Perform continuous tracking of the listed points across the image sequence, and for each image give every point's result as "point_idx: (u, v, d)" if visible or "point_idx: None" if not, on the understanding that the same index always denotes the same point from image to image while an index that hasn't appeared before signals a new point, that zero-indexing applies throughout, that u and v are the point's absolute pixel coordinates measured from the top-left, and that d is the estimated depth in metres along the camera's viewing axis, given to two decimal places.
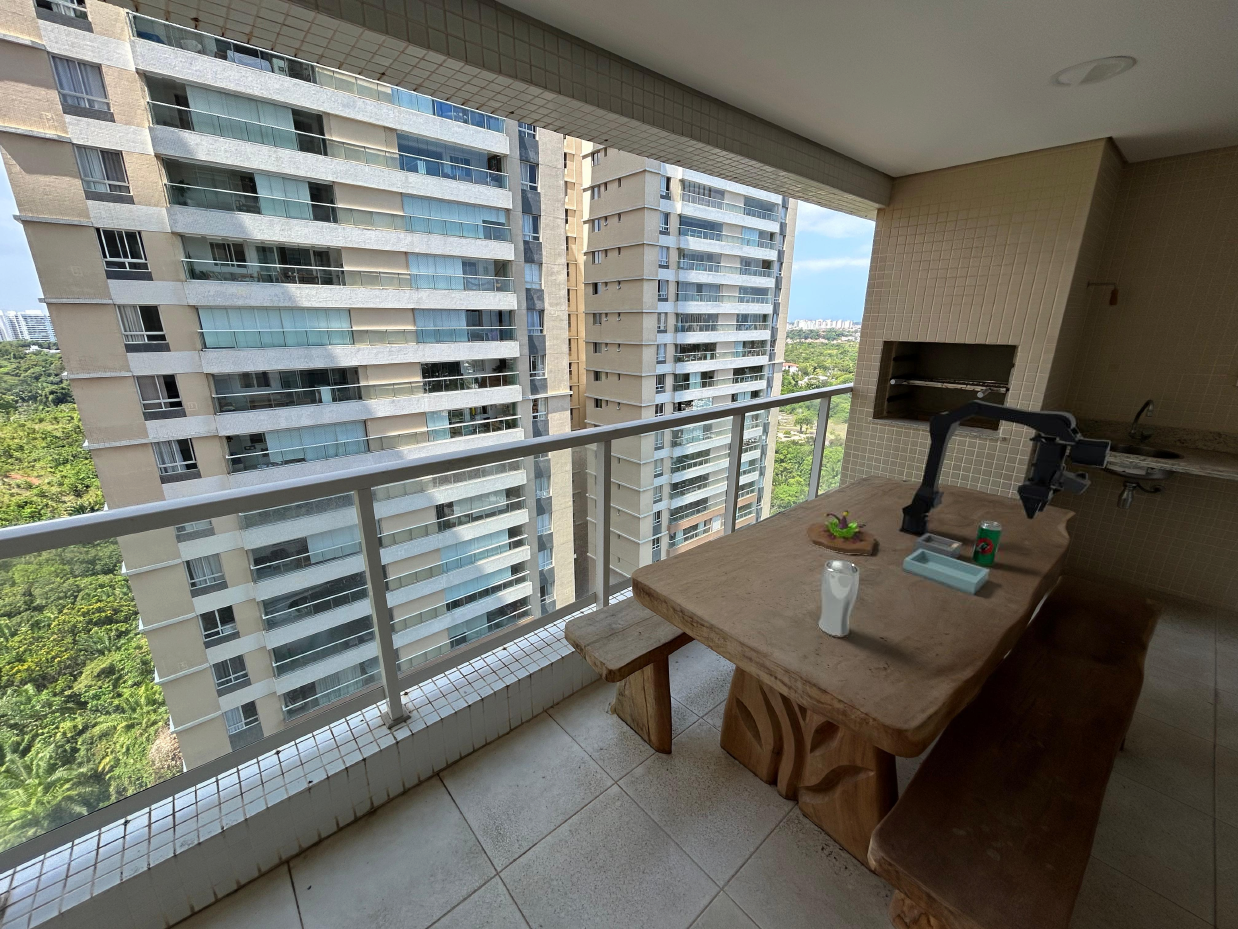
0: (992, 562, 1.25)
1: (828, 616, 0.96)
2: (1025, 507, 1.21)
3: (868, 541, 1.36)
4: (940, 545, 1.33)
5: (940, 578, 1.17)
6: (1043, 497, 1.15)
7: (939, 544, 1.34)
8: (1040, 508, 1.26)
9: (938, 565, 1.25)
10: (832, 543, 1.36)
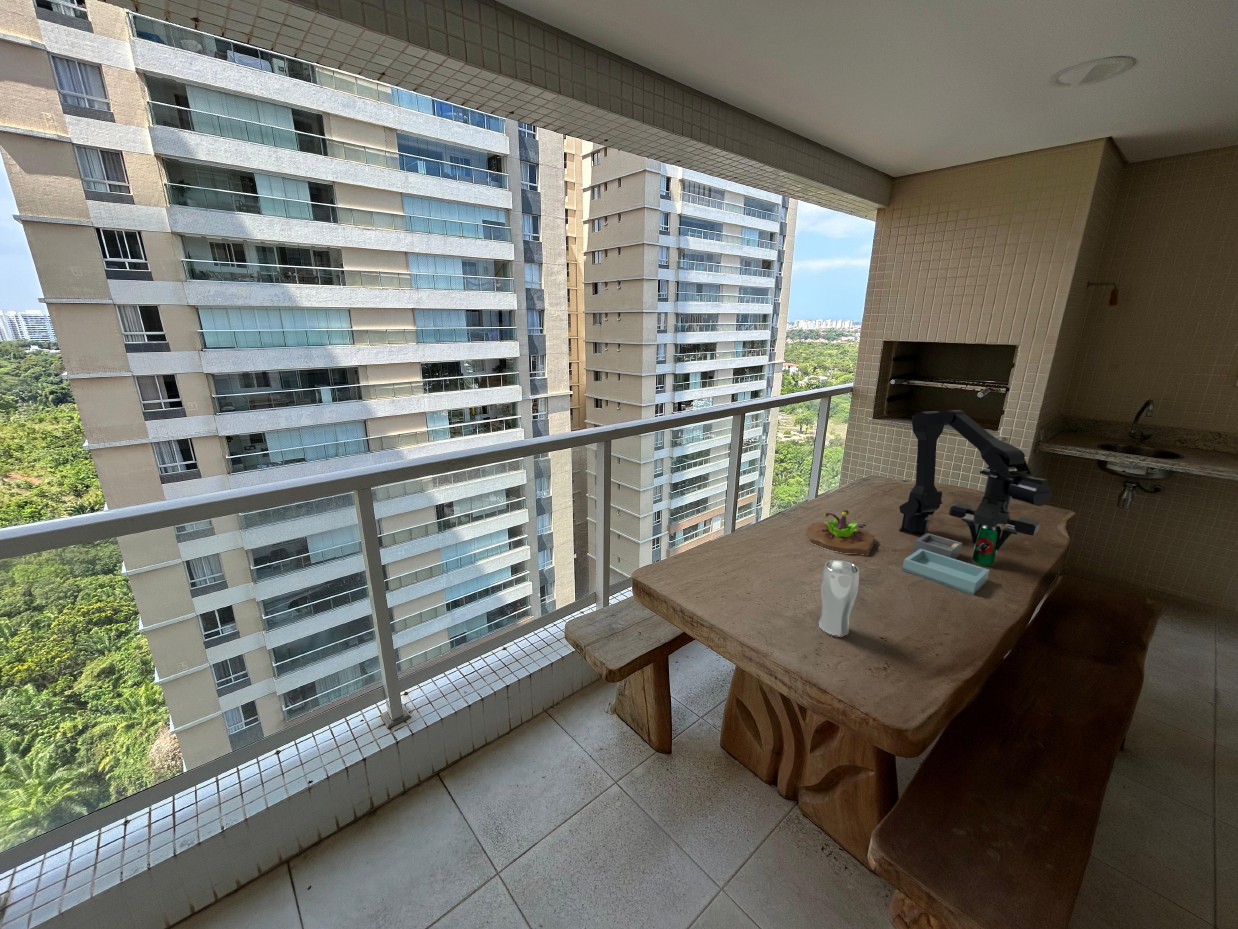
0: (992, 562, 1.25)
1: (828, 616, 0.96)
2: None
3: (866, 541, 1.36)
4: (940, 545, 1.33)
5: (940, 578, 1.17)
6: None
7: (939, 544, 1.34)
8: None
9: (938, 565, 1.25)
10: (829, 542, 1.36)
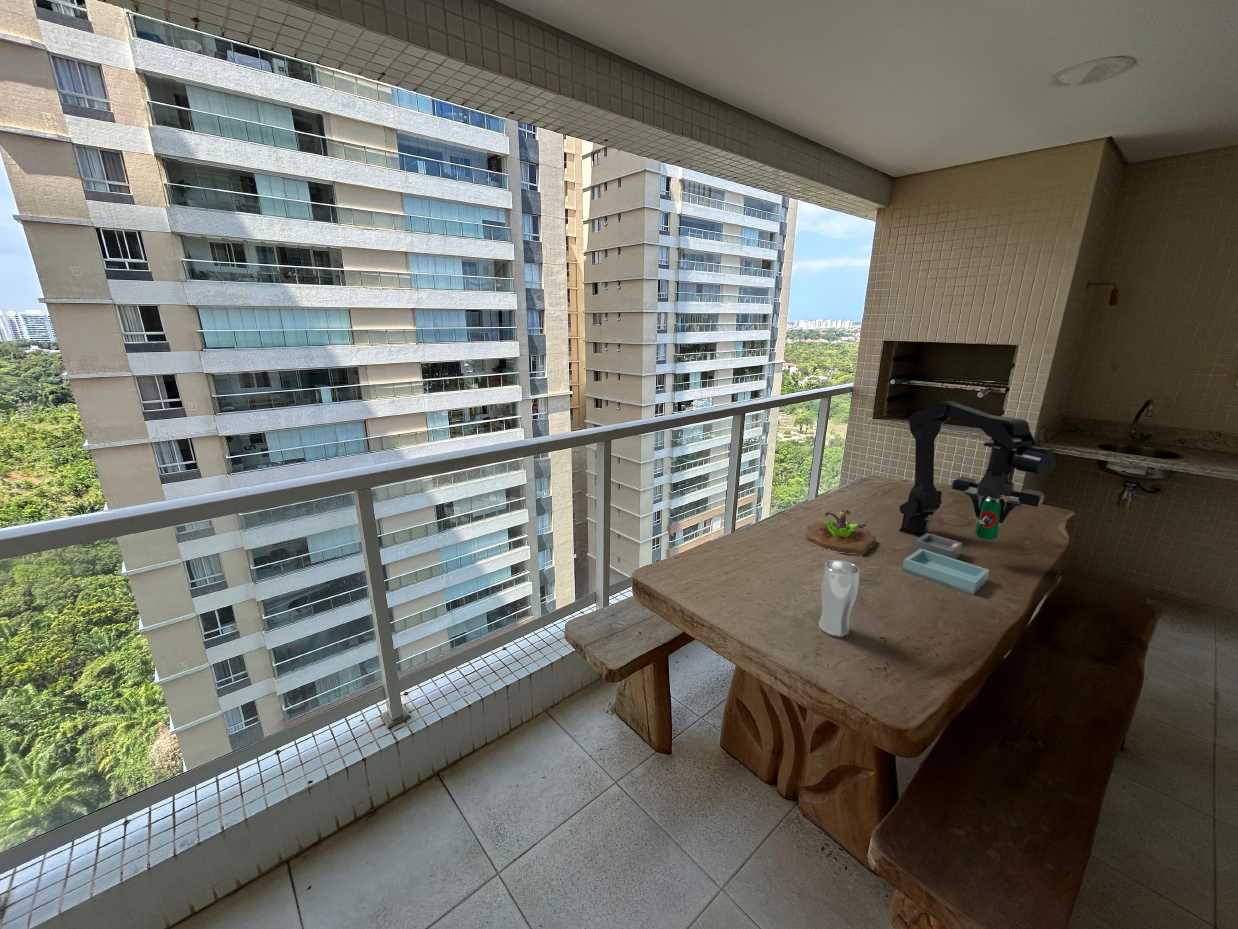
0: (996, 535, 1.23)
1: (828, 616, 0.96)
2: None
3: (864, 542, 1.35)
4: (940, 545, 1.33)
5: (940, 578, 1.17)
6: None
7: (939, 544, 1.34)
8: None
9: (938, 565, 1.25)
10: (825, 541, 1.37)
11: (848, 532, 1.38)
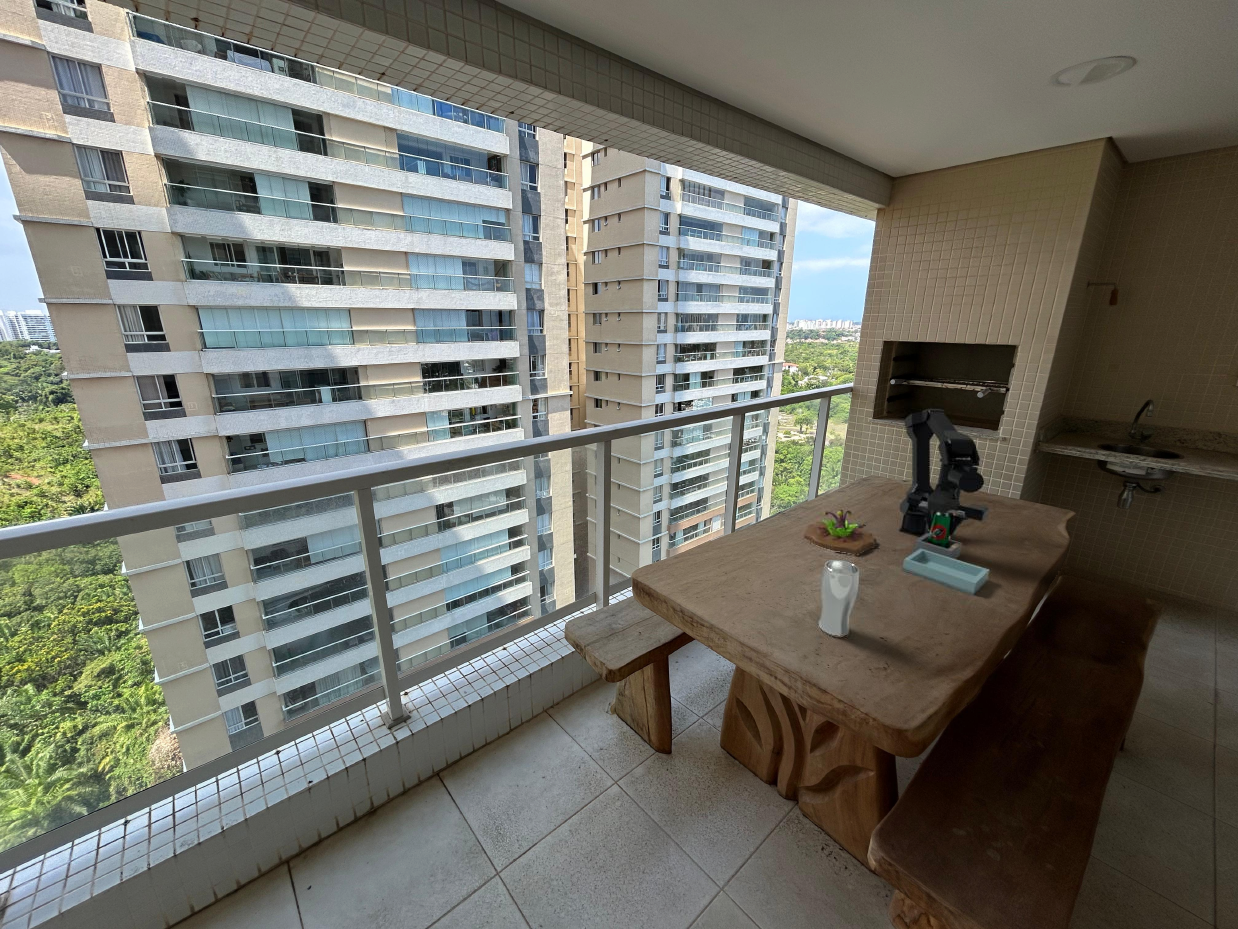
0: (946, 547, 1.30)
1: (828, 616, 0.96)
2: None
3: (860, 542, 1.35)
4: None
5: (940, 578, 1.17)
6: None
7: None
8: None
9: (938, 565, 1.25)
10: (820, 539, 1.38)
11: (845, 532, 1.38)
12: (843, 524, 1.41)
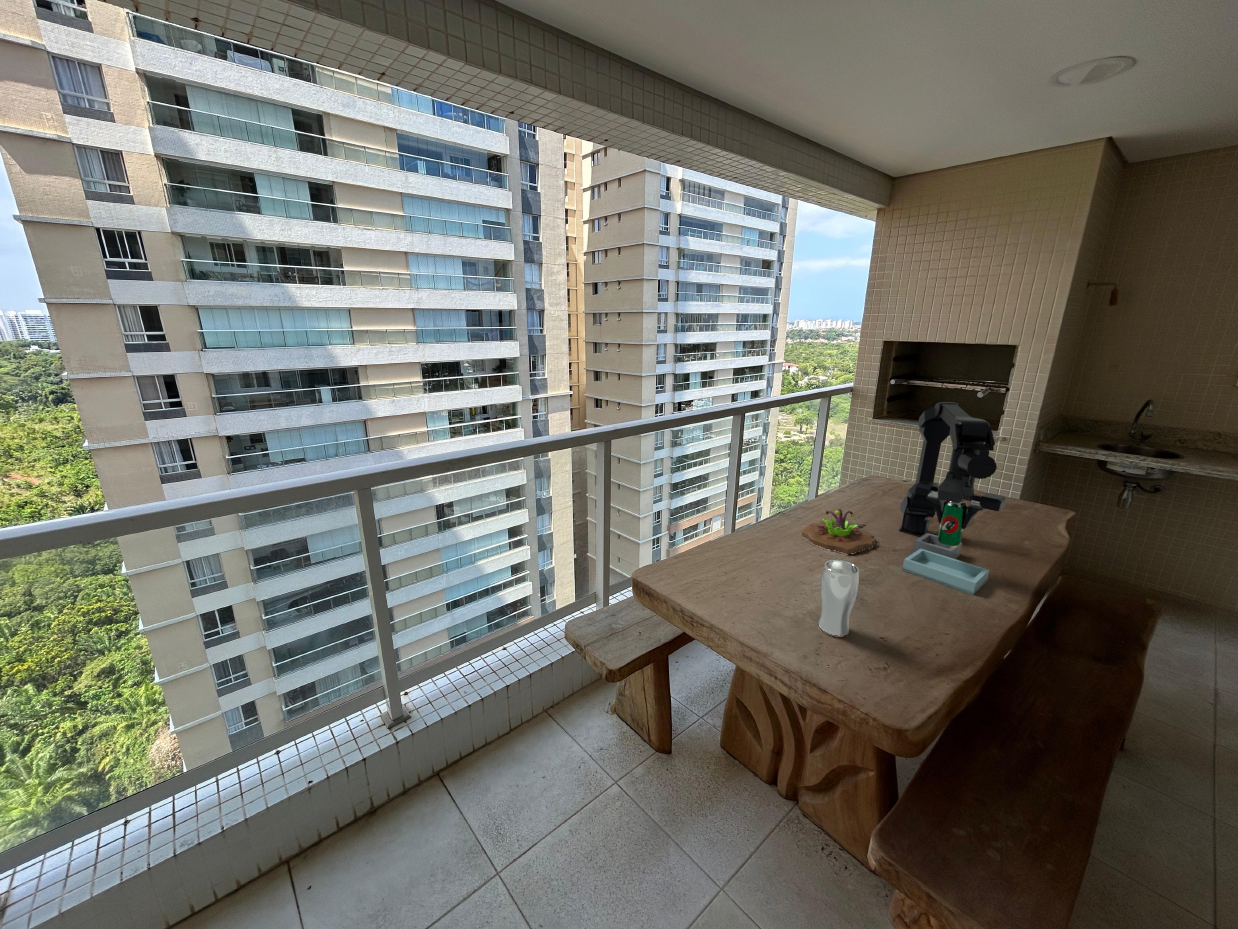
0: (958, 541, 1.18)
1: (828, 616, 0.96)
2: None
3: (855, 543, 1.35)
4: None
5: (940, 578, 1.17)
6: None
7: (939, 546, 1.34)
8: None
9: (938, 565, 1.25)
10: (815, 537, 1.40)
11: (843, 532, 1.39)
12: (842, 524, 1.41)
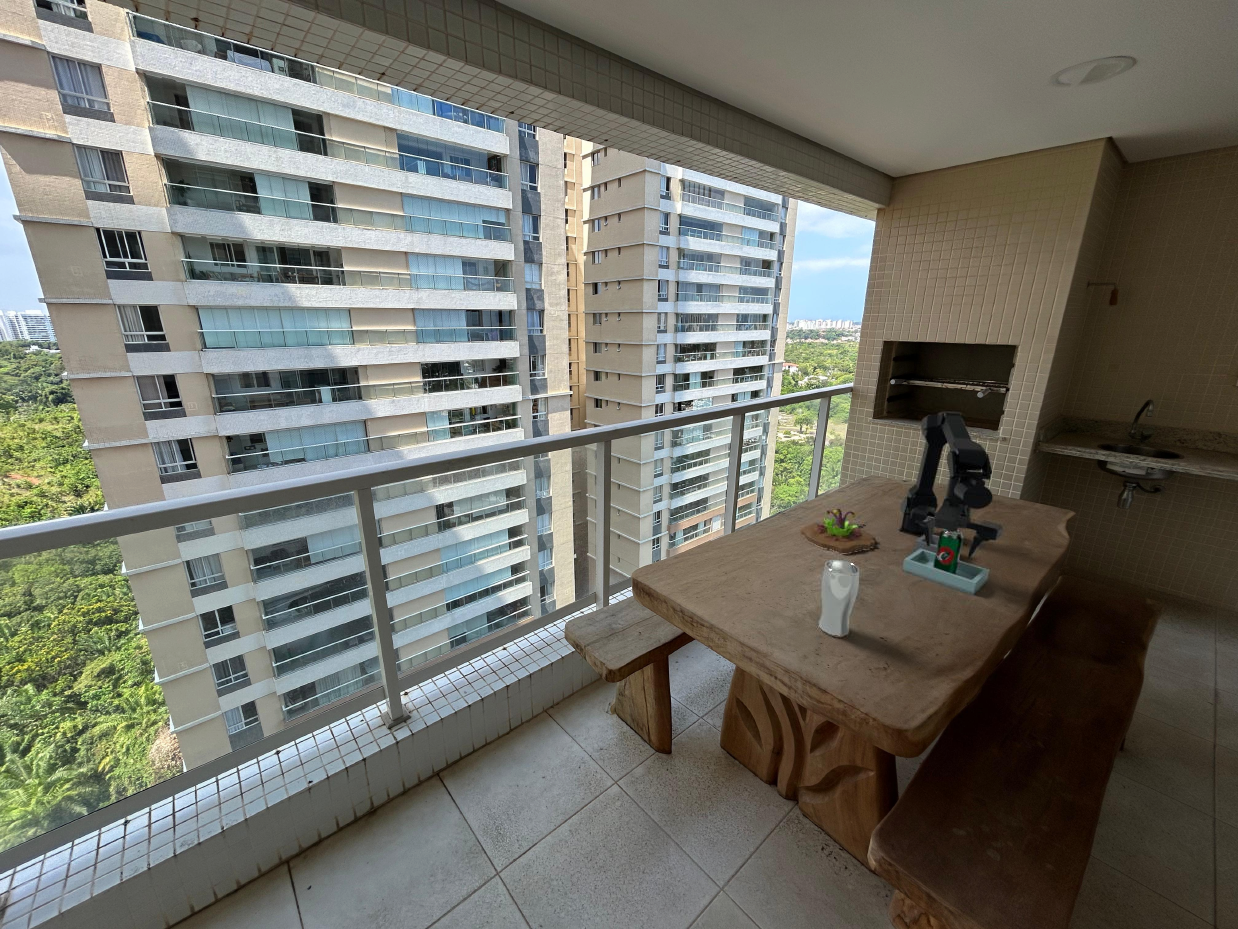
0: (953, 572, 1.18)
1: (828, 616, 0.96)
2: None
3: (851, 542, 1.35)
4: None
5: (940, 578, 1.17)
6: None
7: None
8: None
9: None
10: (812, 535, 1.41)
11: (840, 531, 1.39)
12: (841, 524, 1.41)
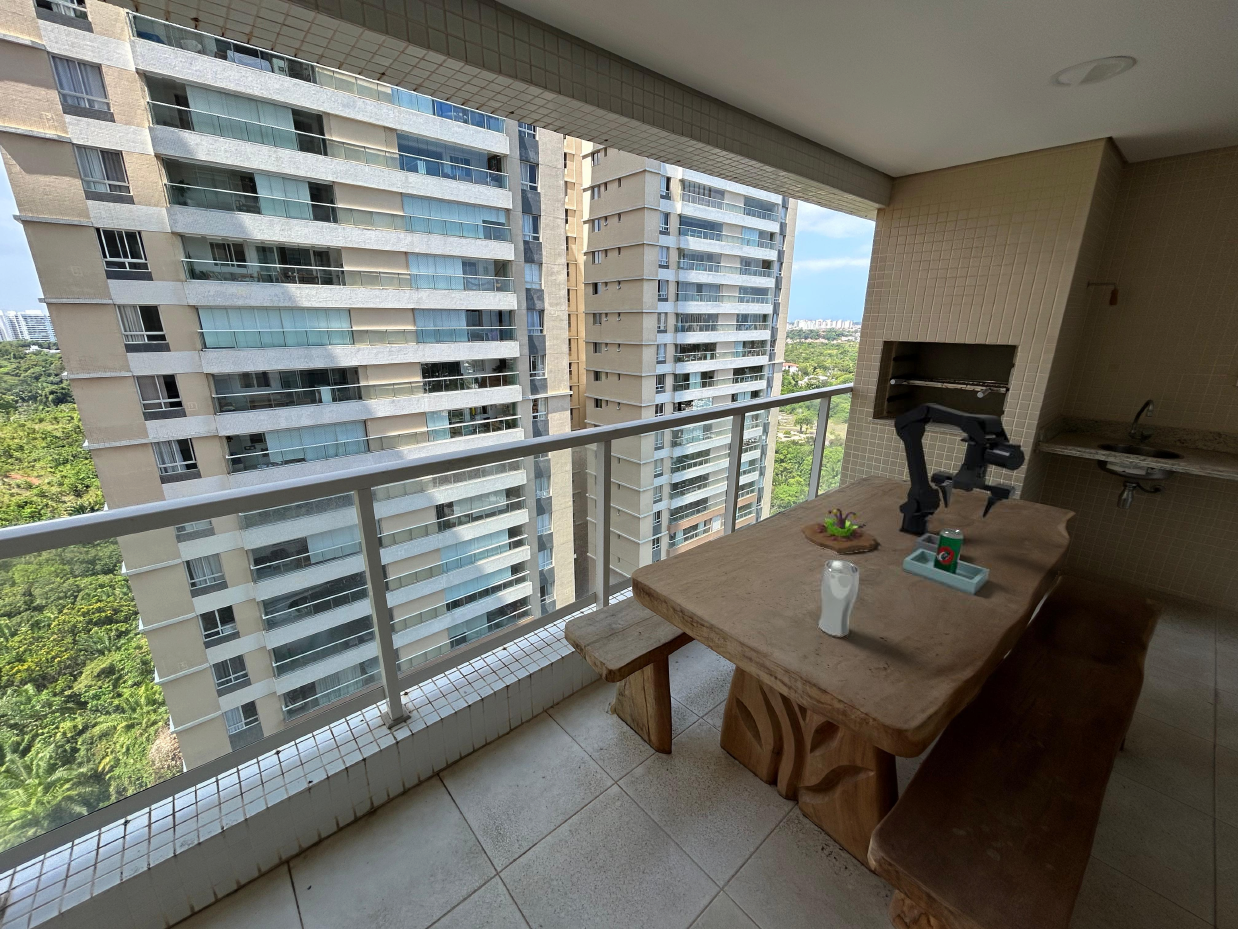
0: (953, 572, 1.18)
1: (828, 616, 0.96)
2: None
3: (849, 543, 1.35)
4: None
5: (940, 578, 1.17)
6: None
7: None
8: None
9: None
10: (811, 534, 1.42)
11: (839, 531, 1.39)
12: (841, 524, 1.41)
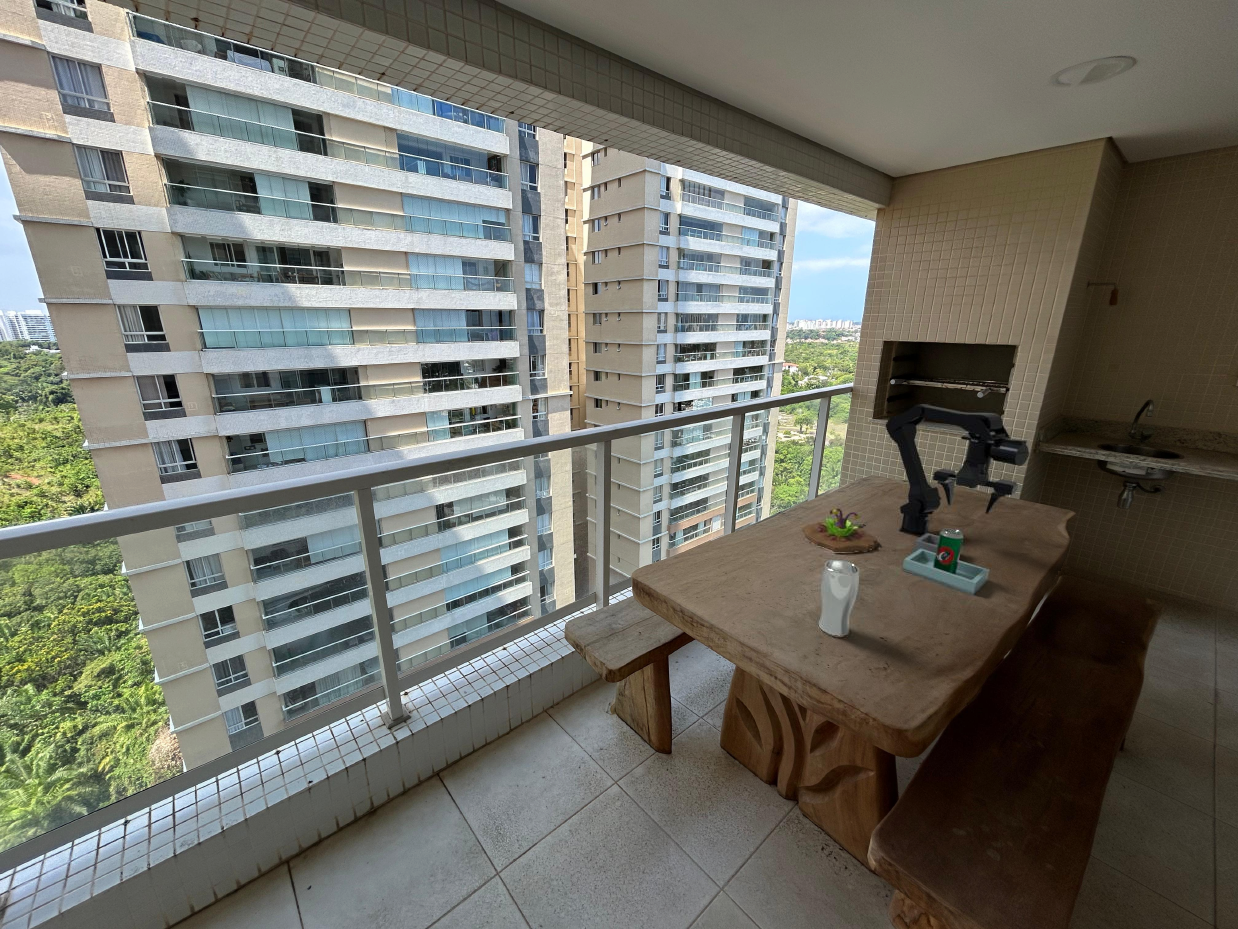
0: (953, 572, 1.18)
1: (828, 616, 0.96)
2: None
3: (847, 543, 1.35)
4: None
5: (940, 578, 1.17)
6: None
7: None
8: None
9: None
10: (810, 533, 1.42)
11: (839, 531, 1.39)
12: (841, 524, 1.41)
